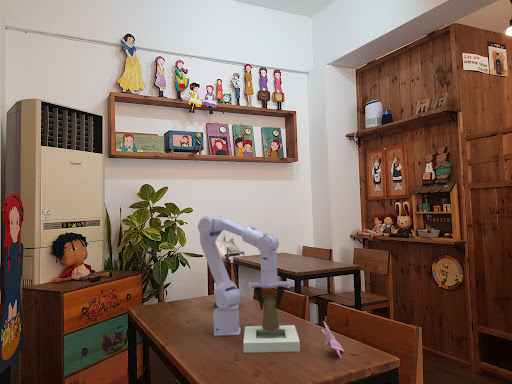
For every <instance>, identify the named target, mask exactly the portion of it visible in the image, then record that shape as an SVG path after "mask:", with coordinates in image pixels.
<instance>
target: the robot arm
mask: <svg viewBox="0 0 512 384" xmlns="http://www.w3.org/2000/svg"><path fill="white" fill-rule="evenodd" d="M197 229H198V232H199V243H200V246H201V249H202V252H203V254H204V256H205V259H206V263H207V265H208V268H209V270H210V273H211V275H212V278H213V280H214V283H215V285H216V286H215V287H214V291H213V293H214V296H215V297H214V301H215V302H216V305H217V306H218V308H216V309H213V326H212V327H213V336H214V337H215V336H217V337H218V336H219V337H220V336H240V335H241V327H240V313H239V312H240V311H239V310H240V303H241V302H242V300H243V294H242V292H241V290H240V289H239V288H238V286H237V285H236V283H235V282H234V281H232V280H231V279H230V276H228V275H229V273H228V274H227V271H226V269H225V266H224V263H223V261H222V258H221V257H222V255H221V252H220V250H219V249H218V248H217V246H216V243H215V242H216V241H217V240H218V237H219V236H220V235H221V234H222V232H223V231H226V232H230V233H232V234H235V235H237V236H239V237H241V239H242V241H243V242H244V243H247V244H249V245H251V246H253V247H255V248H257V250H258V251H259V253H260V279H261V281H252V282H249V281H248V289H249V290H253V289H254V292H255V295H256V296H257V299H258V302H259V306H260V310H261V311H262V310H263V311H264V305H263V303H262V300H263V289H274V288H275V289H276V299H277V304H276V310H280V305H281V302H282V301H281V300H282V297H283V295H284V293H285V290H286V288H287V289H290V288H291V282H290V281H289V280H287V281H282V280H281V281H280V280H278V259H277V257H278V256H277V249H278V248H279V246H280V241H279V238H278V237H277V236H275V235H274V234H267V232H265V231H259V230H258V229H257V228H256V227H255V226H248V227H247V228H245V227H243V226H241V225H239V224H238V223H236V222H234V221H232V220H230V219H228V218H227V217H223V216H221V215H217V216H203V217H201V218H200V220H199V222H198V225H197ZM225 290H226V291H225ZM215 302H214V303H215Z"/></svg>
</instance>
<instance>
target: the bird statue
mask: <svg viewBox="0 0 512 384" xmlns="http://www.w3.org/2000/svg"><path fill="white" fill-rule="evenodd" d="M215 243H216V246H217V248H218V251H219V253H220V255H221V258H222V261H223V263H224V266H225V269H226V271H227V274H228V276H229V267H230V266H231V261H232V260H231V259H230V257H239V256H240V257H241V255H243V256H245V251H241V249H239V247H238V245H236V243H235V242H234V237H233V236H232V237H231V239H228V241H226V234H224V233H223V234H222V239H221V242H219V241H217V240H216V242H215ZM229 277H230V276H229ZM225 291H226V290H225ZM216 308H218V306H217V305H216V302H214V304H213V309H212V310H214V309H216Z"/></svg>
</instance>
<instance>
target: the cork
mask: <svg viewBox="0 0 512 384" xmlns="http://www.w3.org/2000/svg"><path fill="white" fill-rule="evenodd" d="M262 304H263V316H262V325H261V326H262V328H263V329H264V330H269V331H272V330H277V329H279V326H280V323H279V318H278V312H277V311H278V310H277V296H275V295H265V296H264V297H262Z"/></svg>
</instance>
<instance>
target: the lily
mask: <svg viewBox="0 0 512 384" xmlns="http://www.w3.org/2000/svg"><path fill="white" fill-rule="evenodd" d="M322 322H323V324H324V326H325V329H322V328H321V329H320V330H321V331H322V333H324V335H325V337H326V338H325V343H324V345H322V347H321V348H320V350H319V352H318V354H321V352H322V351H323V349H324V347H325V346H326V345H327V346H330V347H331V348H332V349H334V350H335V351H336V353H337V355H338V356H339V358H340V359H341V358H342V356H341V353H340V351H342V352H345V350H344V348H343V347H342V345H341V343H339V342H338V341H337V338H336V336H335V335H334V334H333V333H332V332H331V330H330V327H329V326H328V325H327V323H326V322H325V321H324V320H323V321H322Z"/></svg>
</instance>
